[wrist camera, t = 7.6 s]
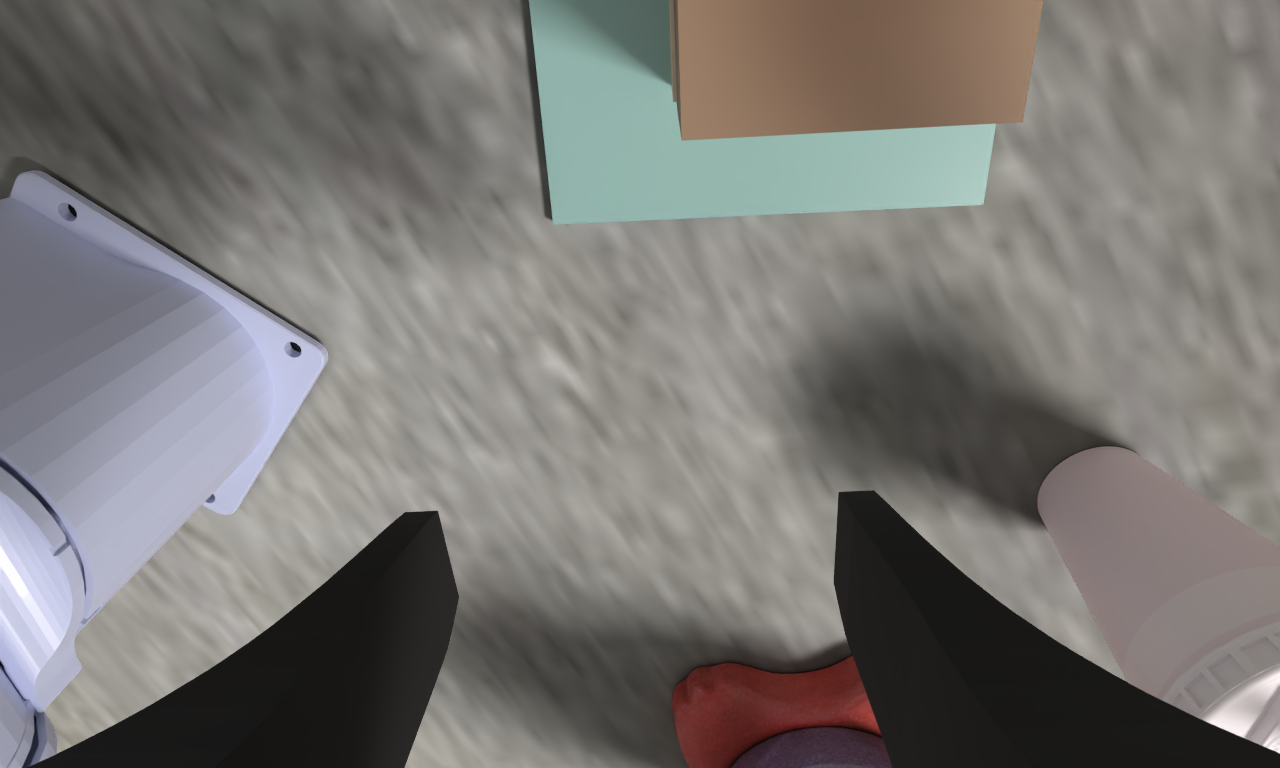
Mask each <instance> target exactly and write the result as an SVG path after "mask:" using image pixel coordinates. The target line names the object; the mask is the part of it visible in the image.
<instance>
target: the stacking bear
mask: <svg viewBox="0 0 1280 768" xmlns="http://www.w3.org/2000/svg"><path fill="white" fill-rule="evenodd" d="M672 710H673V717H674V723H675V729H676V734H677V738H678V741H679V744H680V747H681V750H682V753H683V756H684V758H685V760H686V762H687V764H688V766H689V768H892V765H891V762H890V758H889V755H888V752H887V749H886V747H885V744H884V741H883V738H882V736H881V733H880V730H879V727H878V724H877V722H876V719H875V716H874V713H873V711H872V708H871V705H870V702H869V700H868V697H867V694H866V691H865V688H864V686H863V683H862V680H861V677H860V675H859V672H858V669H857V666H856V663H855V661H854V658H853V656H851V657H849V658H847V659H846V660H844V661H842V662H840V663H838V664H835V665H833V666H831V667H828V668H825V669H821V670H817V671H812V672H807V673H796V674H777V673H770V672H766V671H762V670H758V669H755V668H752V667H748V666H745V665H741V664H733V663H725V664H720V665H716V666H711V667H699V668H696V669H695V670H693V671H692V672H691V673H690V674H689V676H688V677H687V678H686V679H685V680H683V681H682V682H681V683H679V684H678V686H677V687H676V688H675V690H674V693H673V697H672Z"/></svg>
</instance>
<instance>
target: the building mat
mask: <svg viewBox="0 0 1280 768" xmlns="http://www.w3.org/2000/svg"><path fill="white" fill-rule="evenodd" d="M529 6H530V15H531V24H532V33H533V43H534V52H535V61H536V70H537V80H538V89H539V98H540V107H541V117H542V126H543V135H544V144H545V154H546V163H547V172H548V181H549V190H550V200H551V209H552V218H553V225H556V224H578V223H599V222H621V221H642V220H664V219H685V218H707V217H729V216H750V215H772V214H793V213H815V212H836V211H858V210H879V209H901V208H923V207H944V206H966V205H983V203H984V197H985V190H986V184H987V178H988V171H989V165H990V158H991V152H992V146H993V139H994V133H995V127H996V124H979V125H960V126H942V127H924V128H905V129H887V130H869V131H851V132H832V133H814V134H796V135H777V136H759V137H741V138H722V139H704V140H686V141H682V140H681V133H680V126H679V119H678V112H677V102H673V96H672V86H671V57H670V26H669V0H529Z"/></svg>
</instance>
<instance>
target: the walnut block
mask: <svg viewBox="0 0 1280 768" xmlns="http://www.w3.org/2000/svg"><path fill="white" fill-rule="evenodd" d="M1042 6H1043V0H674V27H675V59H676V90H677V112H678V119H679V126H680V133H681V140H682V141H686V140H704V139H722V138H741V137H759V136H777V135H796V134H814V133H832V132H851V131H869V130H887V129H905V128H924V127H942V126H960V125H979V124H997V123H1015V122H1023V118H1024V112H1025V106H1026V100H1027V94H1028V88H1029V82H1030V77H1031V71H1032V65H1033V59H1034V53H1035V47H1036V41H1037V35H1038V29H1039V24H1040V18H1041V12H1042Z"/></svg>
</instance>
